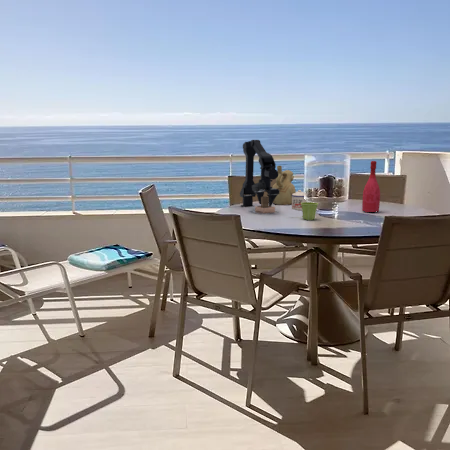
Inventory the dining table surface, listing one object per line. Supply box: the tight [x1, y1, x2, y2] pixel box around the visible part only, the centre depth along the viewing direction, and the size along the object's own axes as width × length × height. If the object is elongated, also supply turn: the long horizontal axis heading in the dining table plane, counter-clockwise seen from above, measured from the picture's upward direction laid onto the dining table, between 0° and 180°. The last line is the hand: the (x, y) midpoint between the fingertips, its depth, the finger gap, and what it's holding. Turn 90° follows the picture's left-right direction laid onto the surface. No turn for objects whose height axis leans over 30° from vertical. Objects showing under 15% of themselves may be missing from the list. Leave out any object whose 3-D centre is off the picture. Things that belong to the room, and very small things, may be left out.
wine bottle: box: [361, 160, 381, 213], centre depth 295 cm, size 10×10×30 cm
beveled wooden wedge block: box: [260, 196, 269, 208], centre depth 287 cm, size 2×4×8 cm, turn 122°
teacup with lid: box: [291, 189, 307, 211], centre depth 303 cm, size 12×9×12 cm
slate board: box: [248, 209, 278, 215], centre depth 289 cm, size 12×14×1 cm
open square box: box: [254, 205, 276, 214], centre depth 288 cm, size 8×8×3 cm
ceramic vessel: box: [271, 165, 297, 206], centre depth 324 cm, size 17×20×25 cm
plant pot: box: [301, 201, 319, 221], centre depth 272 cm, size 9×9×9 cm
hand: (265, 205), depth 288 cm, fingers open, 9 cm apart
